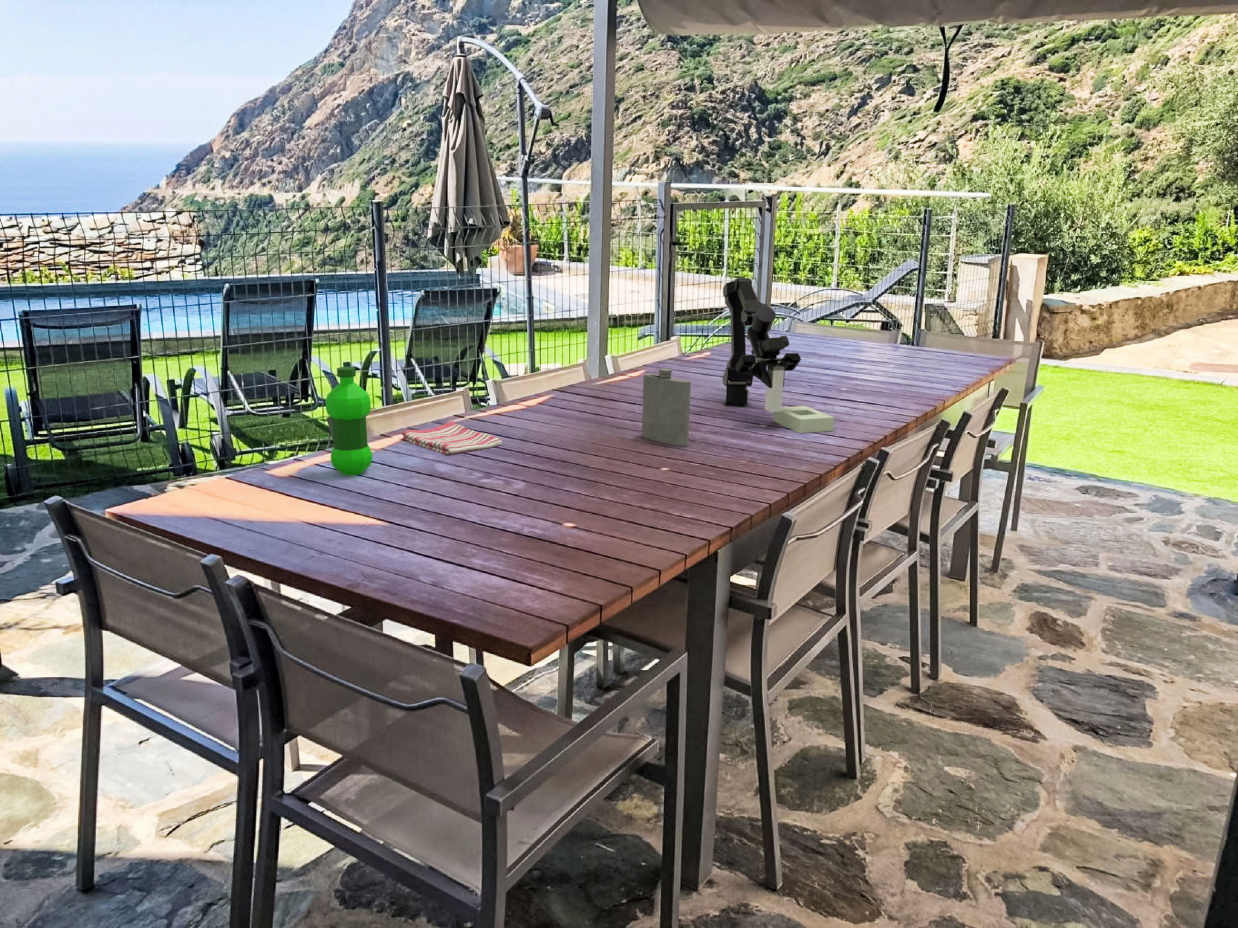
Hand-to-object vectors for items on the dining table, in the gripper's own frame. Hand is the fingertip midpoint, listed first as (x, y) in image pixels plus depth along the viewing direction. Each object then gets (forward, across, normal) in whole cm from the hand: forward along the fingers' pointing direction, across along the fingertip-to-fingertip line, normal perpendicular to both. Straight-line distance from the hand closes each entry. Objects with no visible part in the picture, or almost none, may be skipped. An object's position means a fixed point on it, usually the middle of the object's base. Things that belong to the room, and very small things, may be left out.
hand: (777, 387), depth 272 cm
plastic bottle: (+16, -119, +2) cm, 120 cm away
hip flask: (+11, -36, +7) cm, 38 cm away
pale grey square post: (+4, 0, +6) cm, 7 cm away
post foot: (+7, +11, +10) cm, 17 cm away
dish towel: (+1, -92, +18) cm, 93 cm away
